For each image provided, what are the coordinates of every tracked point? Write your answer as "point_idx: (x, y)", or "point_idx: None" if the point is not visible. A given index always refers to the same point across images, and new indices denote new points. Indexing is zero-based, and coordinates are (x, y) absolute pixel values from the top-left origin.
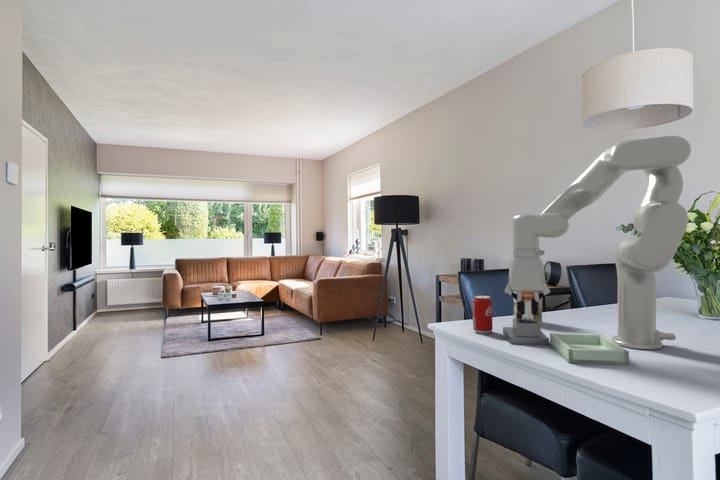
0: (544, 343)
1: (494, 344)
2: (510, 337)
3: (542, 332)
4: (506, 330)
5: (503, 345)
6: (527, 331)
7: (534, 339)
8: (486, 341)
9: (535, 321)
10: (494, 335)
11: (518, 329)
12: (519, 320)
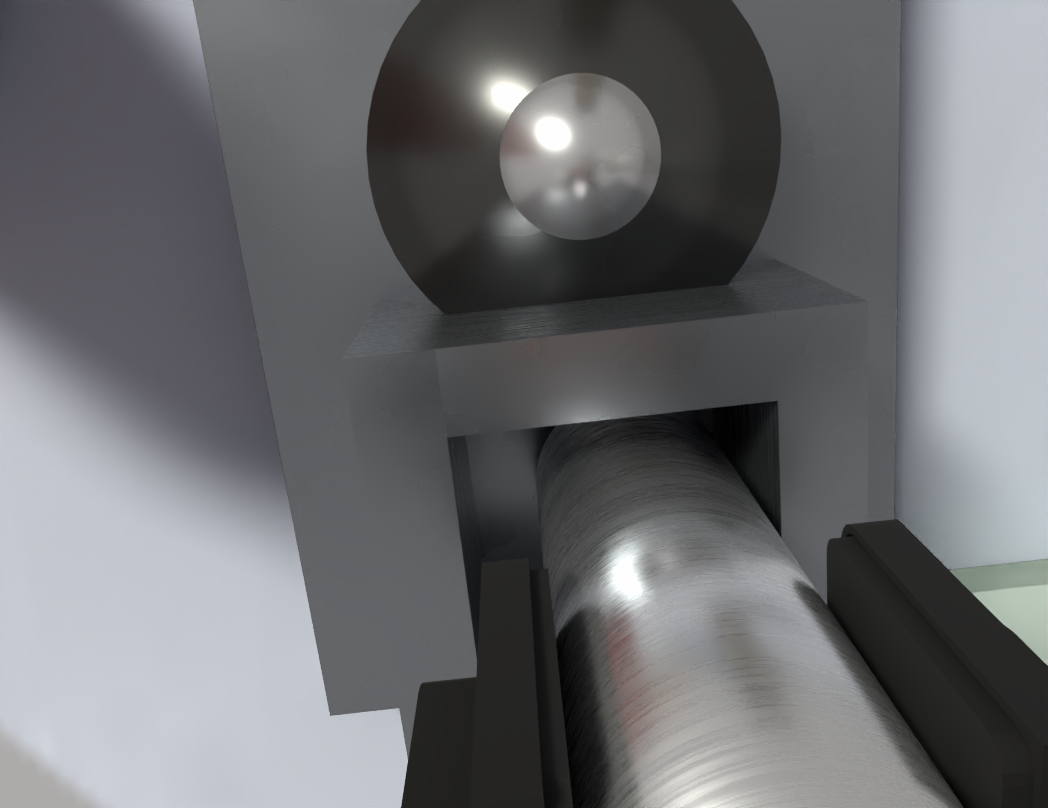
0: None
1: (142, 733)
2: (337, 714)
3: (895, 265)
4: (263, 252)
5: (261, 751)
6: None
7: None
8: (13, 610)
9: (823, 535)
10: (82, 189)
11: None
12: (495, 425)
